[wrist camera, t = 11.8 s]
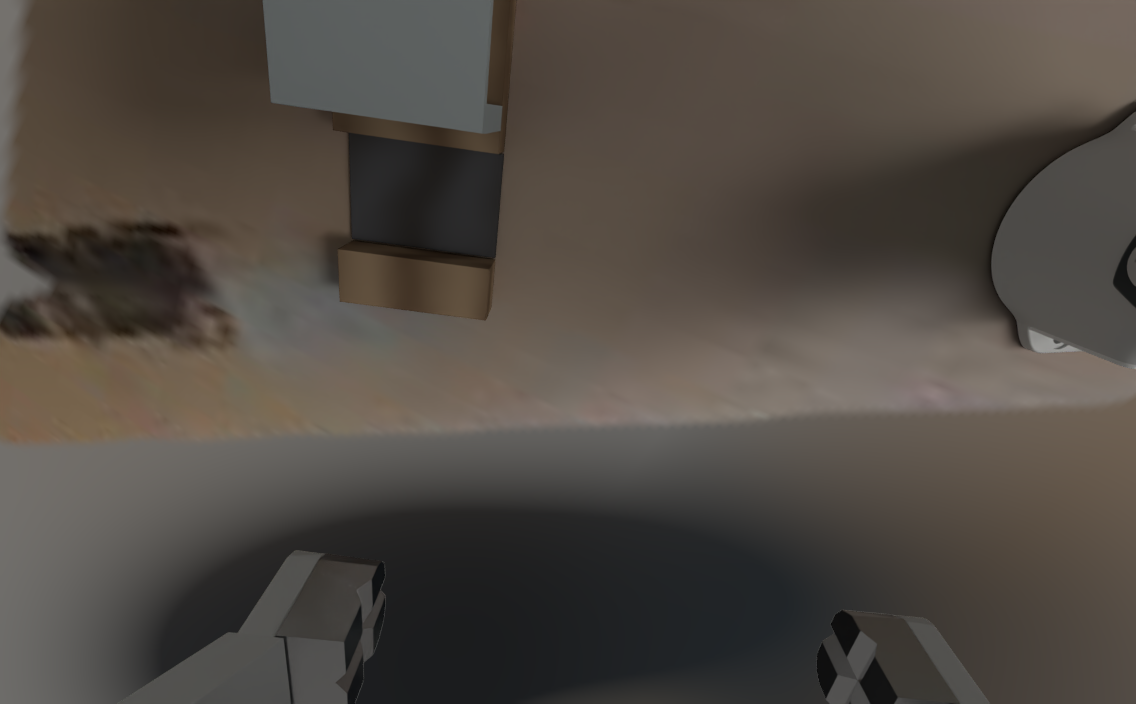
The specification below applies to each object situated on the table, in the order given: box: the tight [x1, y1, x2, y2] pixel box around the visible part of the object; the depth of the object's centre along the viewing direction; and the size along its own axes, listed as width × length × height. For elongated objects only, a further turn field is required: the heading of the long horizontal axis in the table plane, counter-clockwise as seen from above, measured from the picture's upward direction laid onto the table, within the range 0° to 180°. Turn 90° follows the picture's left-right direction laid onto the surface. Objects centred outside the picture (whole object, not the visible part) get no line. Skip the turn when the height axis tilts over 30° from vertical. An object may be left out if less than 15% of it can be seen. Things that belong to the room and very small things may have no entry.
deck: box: [332, 0, 516, 320], centre depth 34 cm, size 11×39×3 cm, turn 172°
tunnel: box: [263, 0, 502, 134], centre depth 30 cm, size 11×9×8 cm
